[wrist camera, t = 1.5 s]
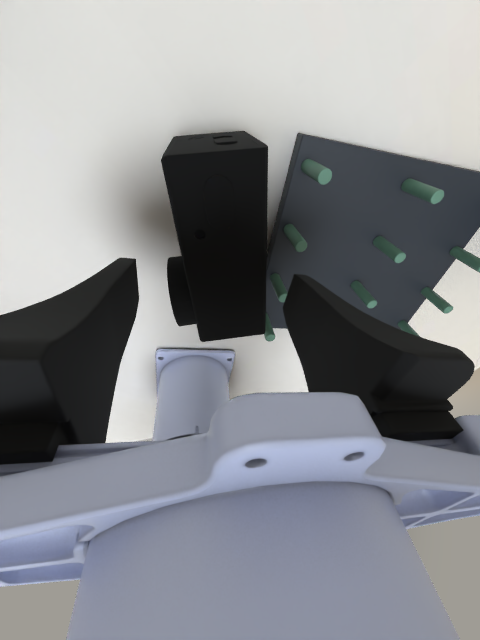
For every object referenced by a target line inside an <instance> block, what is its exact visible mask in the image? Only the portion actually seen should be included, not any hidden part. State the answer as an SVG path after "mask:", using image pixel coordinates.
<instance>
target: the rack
mask: <svg viewBox="0 0 480 640" xmlns="http://www.w3.org/2000/svg"><path fill="white" fill-rule="evenodd" d="M479 227H480V172H478V171H473V170H468V169H464V168H459V167H454V166H450V165H445V164H440V163H436V162H431V161H426V160H422V159H417V158H412V157H408V156H403V155H399V154H394V153H389V152H385V151H380V150H375V149H371V148H366V147H361V146H357V145H352V144H347V143H343V142H338V141H333V140H329V139H324V138H319V137H315V136H310V135H305V134H301V133H298V135H297V139H296V143H295V147H294V151H293V155H292V159H291V163H290V167H289V171H288V175H287V178H286V182H285V186H284V190H283V194H282V198H281V202H280V206H279V210H278V214H277V217H276V221H275V225H274V229H273V233H272V237H271V241H270V245H269V249H268V253H267V267H266V332H265V334H264V335H265V338H266V340H267V341H273V340H274V339H275V335H274V332H273V329H272V328H286V329H288V328H287V325H286V322H285V318H284V313H283V305H284V302H285V299H286V296H287V293H288V290H289V287H290V284H291V282H292V279H293V276H294V274H302V275H307V276H309V277H311V278H313V279H314V280H316V281H317V282H319V283H320V284H321V285H323V286H324V287H326V288H327V289H329V290H330V291H331V292H333V293H334V294H336V295H337V296H339V297H340V298H342V299H343V300H345V301H346V302H348V303H349V304H351V305H352V306H354V307H356V308H357V309H359V310H361V311H362V312H364V313H366V314H368V315H370V316H372V317H374V318H376V319H378V320H380V321H382V322H384V323H386V324H388V325H391V326H393V327H395V328H397V329H400V330H402V331H405V332H408V333H410V334H413V335H416V336H419V335H418V334H417V333H416V332H415V331H414V330H413V329H412V328H411V327H410V326H409V324H408V322H409V320H410V319H411V318H412V316H413V315H414V314H415V312H416V311H417V310H418V308H419V307H420V306H421V304H422V303H423V302H424V300H425V299H426V298H427V299H428V300H429V301H430V302H432V303H433V304H434V305H435V306H436V307H437V308H438V309H440V310H441V311H442V312H443V313H449V312H451V311H452V310H453V306H451V305H450V304H449V303H448V302H446V301H445V300H444V299H443V298H441V297H440V296H439V295H438V294H437V293H435V292H434V291H433V288H434V287H435V286H436V284H437V283H438V282H439V280H440V279H441V278H442V276H443V275H444V274H445V272H446V271H447V270H448V268H449V267H450V266H451V264H452V263H453V262H454V260H455V259H458V260H460V261H461V262H463V263H464V264H466V265H468V266H469V267H471V268H473V269H474V270H476V271H477V272H480V258H478V257H476V256H475V255H473V254H471V253H469V252H467V251H466V250H464V249H463V248H464V247H465V246H466V244H467V243H468V242H469V240H470V239H471V238H472V236H473V235H474V234H475V232H476V231H477V230H478V228H479ZM419 337H420V336H419Z"/></svg>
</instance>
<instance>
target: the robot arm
mask: <svg viewBox="0 0 480 640" xmlns="http://www.w3.org/2000/svg"><path fill="white" fill-rule="evenodd" d="M138 302H139V293H138V281H137V269H136V259H130V258H119V259H117V260H116V261H114V262H113V263H111V264H110V265H108V266H107V267H105V268H104V269H102V270H101V271H99V272H98V273H96V274H95V275H93V276H92V277H90V278H88V279H87V280H85V281H83V282H82V283H80V284H78V285H76V286H75V287H73V288H71V289H69V290H67V291H65V292H63V293H61V294H59V295H56V296H54V297H52V298H50V299H47V300H45V301H42V302H39V303H36V304H34V305H31V306H28V307H25V308H23V309H20V310H17V311H13V312H10V313H7V314H3V315H0V587H2V586H12V585H23V584H35V583H46V582H57V581H68V580H80V583H79V587H78V591H77V596H76V600H75V604H74V608H73V612H72V617H71V621H70V625H69V629H68V633H67V637H66V640H460V638H459V636H458V634H457V632H456V630H455V628H454V626H453V624H452V622H451V620H450V618H449V616H448V614H447V612H446V610H445V607H444V605H443V603H442V601H441V599H440V597H439V596H438V593H437V591H436V589H435V587H434V585H433V583H432V581H431V579H430V577H429V575H428V573H427V571H426V569H425V567H424V565H423V563H422V560H421V558H420V556H419V554H418V552H417V550H416V548H415V546H414V544H413V542H412V540H411V538H410V536H409V534H408V532H407V530H406V529H409V528H414V527H419V526H423V525H429V524H434V523H439V522H444V521H449V520H455V519H461V518H466V517H472V516H479V515H480V415H465V416H460V417H457V418H455V419H454V418H453V416H452V415H451V414H450V412H448V411H451V410H452V409H453V406H452V405H451V403H450V402H449V401H448V400H447V399H448V398H449V397H450V396H452V394H454V393H455V392H456V391H457V390H458V389H460V388H461V387H462V386H463V385H464V384H465V383H466V382H467V381H468V380H469V379H470V377H471V376H472V374H473V372H474V367H475V366H474V363H473V361H472V360H470V359H469V358H468V357H467V356H466V355H465V354H464V353H463V352H462V351H461V350H459V349H457V348H454V347H451V346H447V345H444V344H440V343H437V342H434V341H430V340H427V339H424V338H421V337H419V336H416V335H413V334H410V333H408V332H405V331H402V330H400V329H397V328H395V327H393V326H391V325H388V324H386V323H384V322H382V321H380V320H378V319H376V318H374V317H372V316H370V315H368V314H366V313H364V312H362V311H361V310H359V309H357V308H356V307H354V306H352V305H351V304H349V303H348V302H346V301H345V300H343V299H342V298H340V297H339V296H337V295H336V294H334V293H333V292H331V291H330V290H329V289H327V288H326V287H324V286H323V285H321V284H320V283H319V282H317V281H316V280H314V279H313V278H311V277H309V276H307V275H302V274H294V276H293V279H292V282H291V284H290V287H289V290H288V293H287V296H286V299H285V302H284V305H283V313H284V318H285V322H286V325H287V328H288V331H289V333H290V336H291V338H292V341H293V343H294V346H295V348H296V351H297V354H298V356H299V359H300V361H301V364H302V367H303V371H304V374H305V378H306V382H307V386H308V390H309V392H298V393H253V394H247V395H241V396H237V397H235V398H233V399H231V400H230V396H229V388H228V384H229V379H230V375H231V371H232V367H233V362H234V358H235V353H234V352H233V351H225V350H185V349H158V350H157V351H156V378H157V407H156V415H155V423H154V431H153V440H152V441H141V442H119V443H105V441H106V435H107V429H108V423H109V417H110V412H111V406H112V401H113V396H114V391H115V385H116V381H117V376H118V371H119V366H120V363H121V359H122V356H123V353H124V350H125V347H126V344H127V341H128V338H129V336H130V333H131V330H132V327H133V324H134V321H135V318H136V313H137V307H138Z"/></svg>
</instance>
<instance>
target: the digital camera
mask: <svg viewBox="0 0 480 640" xmlns="http://www.w3.org/2000/svg"><path fill="white" fill-rule="evenodd" d="M161 162H162V167H163V172H164V176H165V181H166V185H167V190H168V195H169V199H170V204H171V208H172V213H173V218H174V222H175V227H176V231H177V236H178V241H179V245H180V250H181V255H182V256H180V257H170V258H169V259H168V263H167V278H168V288H169V295H170V301H171V305H172V310H173V314H174V317H175V320H176V322H177V324H178V325H179V326H185V325H192V324H197V328H198V333H199V337H200V340H201V341H202V342H206V341H214V340H221V339H229V338H237V337H245V336H252V335H261V334H265V332H266V267H267V184H268V146H267V145H266V144H264V143H263V142H261V141H259V140H258V139H256V138H255V137H253V136H251V135H250V134H248V133H247V132H245V131H236V132H224V133H211V134H199V135H186V136H176V137H174V138H173V139H172V141H171V142H170V144H169V146H168V147H167V149H166V151H165V152H164V154H163V157H162V159H161Z"/></svg>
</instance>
